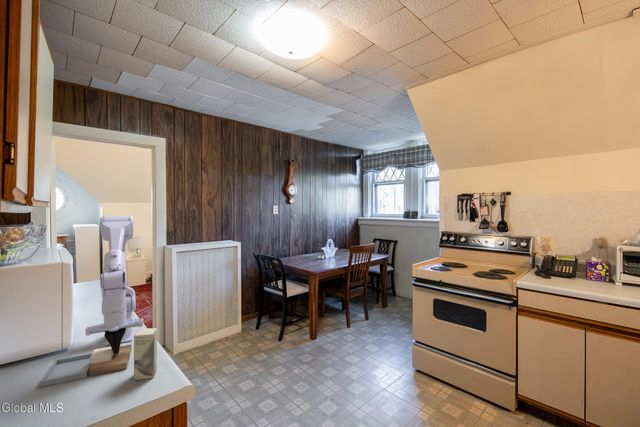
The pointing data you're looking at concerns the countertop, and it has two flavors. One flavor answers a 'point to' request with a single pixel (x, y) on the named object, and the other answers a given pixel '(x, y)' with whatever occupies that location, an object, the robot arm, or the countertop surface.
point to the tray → (67, 370)
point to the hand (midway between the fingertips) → (116, 352)
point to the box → (145, 353)
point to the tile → (101, 355)
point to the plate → (112, 362)
